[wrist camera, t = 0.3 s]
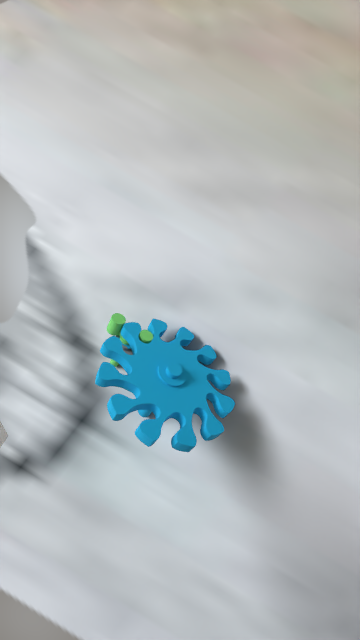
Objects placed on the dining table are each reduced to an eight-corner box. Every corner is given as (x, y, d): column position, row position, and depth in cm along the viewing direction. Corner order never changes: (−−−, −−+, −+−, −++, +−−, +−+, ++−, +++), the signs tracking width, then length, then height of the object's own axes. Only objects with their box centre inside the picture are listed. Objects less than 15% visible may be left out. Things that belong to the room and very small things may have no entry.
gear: (263, 395, 24) (171, 478, 17) (222, 431, 28) (133, 511, 21) (169, 292, 27) (60, 325, 20) (144, 336, 31) (45, 377, 24)
